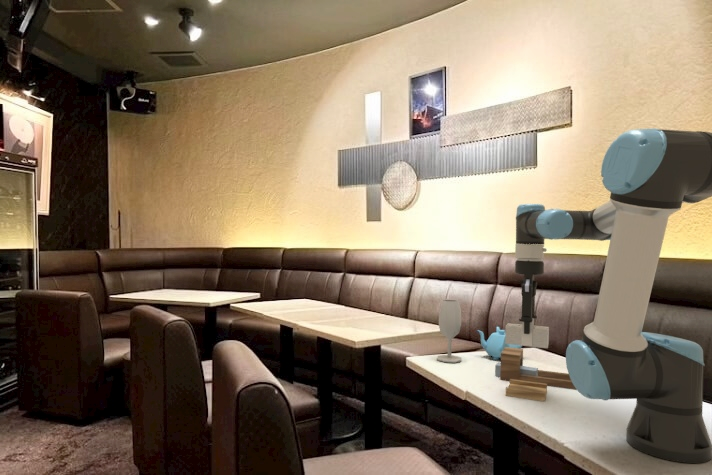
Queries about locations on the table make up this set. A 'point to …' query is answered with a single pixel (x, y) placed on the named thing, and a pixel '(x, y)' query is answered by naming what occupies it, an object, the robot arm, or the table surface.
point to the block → (538, 335)
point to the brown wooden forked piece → (511, 370)
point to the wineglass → (449, 326)
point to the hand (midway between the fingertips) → (527, 343)
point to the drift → (523, 370)
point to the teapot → (496, 343)
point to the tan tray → (527, 390)
